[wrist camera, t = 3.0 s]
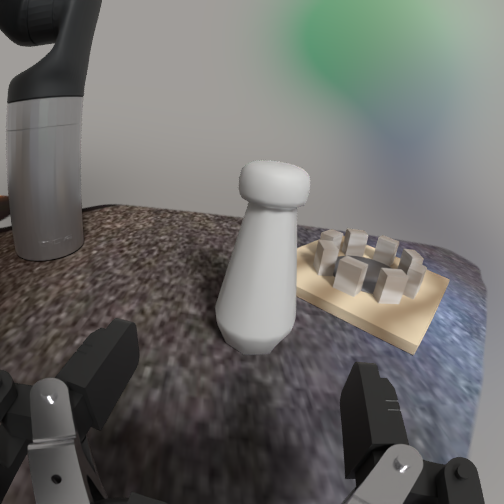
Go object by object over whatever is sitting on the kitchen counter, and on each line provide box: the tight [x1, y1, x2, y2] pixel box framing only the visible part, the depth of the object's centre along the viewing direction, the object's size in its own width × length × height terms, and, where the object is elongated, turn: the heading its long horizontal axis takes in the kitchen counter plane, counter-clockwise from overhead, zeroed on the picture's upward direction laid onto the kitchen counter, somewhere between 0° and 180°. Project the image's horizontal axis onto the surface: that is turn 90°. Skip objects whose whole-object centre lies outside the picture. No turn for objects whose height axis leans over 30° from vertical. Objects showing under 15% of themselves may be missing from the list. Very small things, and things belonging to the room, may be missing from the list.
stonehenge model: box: [296, 229, 449, 355], centre depth 34 cm, size 18×18×4 cm
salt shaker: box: [215, 160, 310, 355], centre depth 21 cm, size 6×6×13 cm
